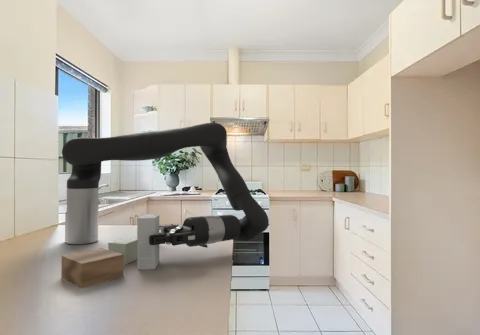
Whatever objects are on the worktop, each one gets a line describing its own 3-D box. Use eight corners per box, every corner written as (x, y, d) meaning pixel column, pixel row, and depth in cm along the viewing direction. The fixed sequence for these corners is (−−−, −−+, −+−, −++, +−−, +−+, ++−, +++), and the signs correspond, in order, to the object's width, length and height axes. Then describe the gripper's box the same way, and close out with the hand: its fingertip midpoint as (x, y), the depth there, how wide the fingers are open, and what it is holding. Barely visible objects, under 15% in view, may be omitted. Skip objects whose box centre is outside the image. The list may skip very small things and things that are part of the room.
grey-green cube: (108, 262, 79) (108, 242, 79) (120, 257, 84) (120, 238, 84) (125, 264, 78) (125, 243, 78) (137, 259, 83) (137, 239, 83)
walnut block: (61, 279, 67) (61, 255, 67) (102, 269, 74) (102, 248, 74) (81, 289, 62) (82, 263, 62) (123, 277, 69) (123, 254, 69)
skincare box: (142, 262, 79) (142, 214, 79) (159, 262, 79) (159, 214, 80) (136, 269, 73) (136, 217, 73) (155, 269, 73) (155, 217, 74)
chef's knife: (180, 238, 111) (173, 238, 109) (180, 234, 111) (173, 235, 109) (213, 247, 97) (205, 248, 95) (213, 243, 97) (205, 244, 95)
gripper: (191, 213, 91) (134, 217, 82) (217, 219, 79) (154, 225, 70) (191, 239, 91) (134, 247, 81) (217, 249, 79) (153, 259, 70)
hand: (143, 237), depth 76 cm, fingers open, 8 cm apart
